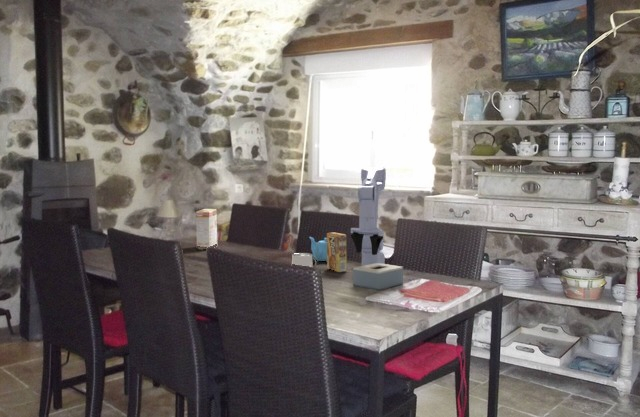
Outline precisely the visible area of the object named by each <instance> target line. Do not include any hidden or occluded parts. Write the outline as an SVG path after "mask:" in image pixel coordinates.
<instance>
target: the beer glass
mask: <svg viewBox="0 0 640 417" xmlns="http://www.w3.org/2000/svg"><path fill="white" fill-rule="evenodd" d="M312 254H313V253H309V252H298V253H292V254H291V257H292V258H291V265H292V264H295V265H302V266H309V267H313V262H312Z"/></svg>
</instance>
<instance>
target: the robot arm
mask: <svg viewBox="0 0 640 417" xmlns="http://www.w3.org/2000/svg"><path fill="white" fill-rule="evenodd" d="M386 170H387V169H386V168H385V167H365V166H363V167H362V168H361V171H360V172H361V173H360V180H361V185H360V187H358V188H357V189H358V190H357V196H358V199H357V200H358V206H359V209H358V210H359V218H358V219H359V221H358V222H359V223H358V224H359V226H358V227H351V228H350V237H351V239H352V241H353V243H354V247H355V250H356V254H359V253H360V254H361V266H364V265H369V264H374V263H382V264H386V263H385V261H386V260H385V259H386V258H385V253H384V252H383V249H384V233H385V232H384V230H381V229H380V228H379V227H378V216H379V215H378V214H379V198H380V194H381V192H382V191H383V190H385V187H386V175H387V174H386V173H387V172H386Z"/></svg>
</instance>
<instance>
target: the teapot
mask: <svg viewBox="0 0 640 417" xmlns="http://www.w3.org/2000/svg"><path fill="white" fill-rule="evenodd" d="M308 238H309V239H310V241H311V245H310V249H311V252H312V253H311V254H312V256H313V257H314V258H315V259H316V260H317V262H319V261H326V262H325V263H327V237H324V238H323V240H319V241H318V242H317V241H315V238H314V237H312V236H309V237H308Z"/></svg>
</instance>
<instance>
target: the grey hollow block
mask: <svg viewBox="0 0 640 417" xmlns="http://www.w3.org/2000/svg"><path fill="white" fill-rule="evenodd" d="M352 272H353V273H352V274H353V275H352V278H353V281H352V283H353V284H352V285H353V286H356V287H360V288H366V289H371V290H376V291H381V290H385V289H389V288H393V287H397V286H402V285H403V284H404V266H399V265H394V264H388V263H385V264H382V263H374V264H369V265H364V266H362V265H361V266H356V267H353V269H352Z"/></svg>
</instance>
